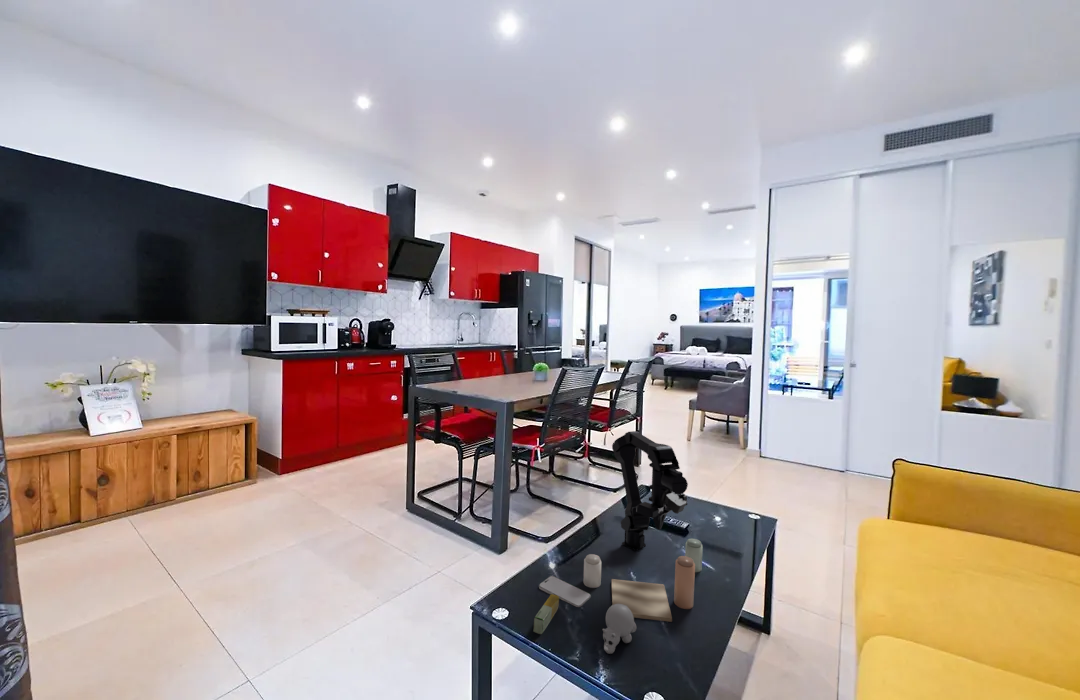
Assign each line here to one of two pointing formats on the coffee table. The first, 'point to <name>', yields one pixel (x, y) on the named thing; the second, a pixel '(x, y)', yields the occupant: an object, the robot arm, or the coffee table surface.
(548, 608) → the medication box
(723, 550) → the coffee table surface
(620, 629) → the chubby cartoon animal
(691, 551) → the sage jar
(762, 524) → the coffee table surface
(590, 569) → the cream jar
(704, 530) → the coffee table surface
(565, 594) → the smartphone
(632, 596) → the beige cloth
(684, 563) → the terracotta jar
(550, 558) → the coffee table surface
